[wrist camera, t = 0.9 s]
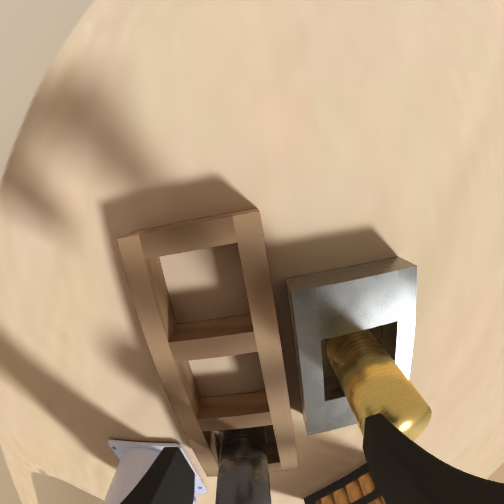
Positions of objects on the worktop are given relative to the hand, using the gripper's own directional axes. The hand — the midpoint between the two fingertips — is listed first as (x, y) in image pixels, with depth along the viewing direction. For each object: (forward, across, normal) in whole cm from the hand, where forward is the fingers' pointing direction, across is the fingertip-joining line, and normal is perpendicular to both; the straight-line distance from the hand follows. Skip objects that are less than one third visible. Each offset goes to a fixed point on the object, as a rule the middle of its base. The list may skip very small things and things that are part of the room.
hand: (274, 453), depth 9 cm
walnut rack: (+10, +3, +2) cm, 11 cm away
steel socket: (+10, -6, +2) cm, 12 cm away
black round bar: (+10, +3, +9) cm, 14 cm away
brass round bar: (+10, -6, +2) cm, 12 cm away
